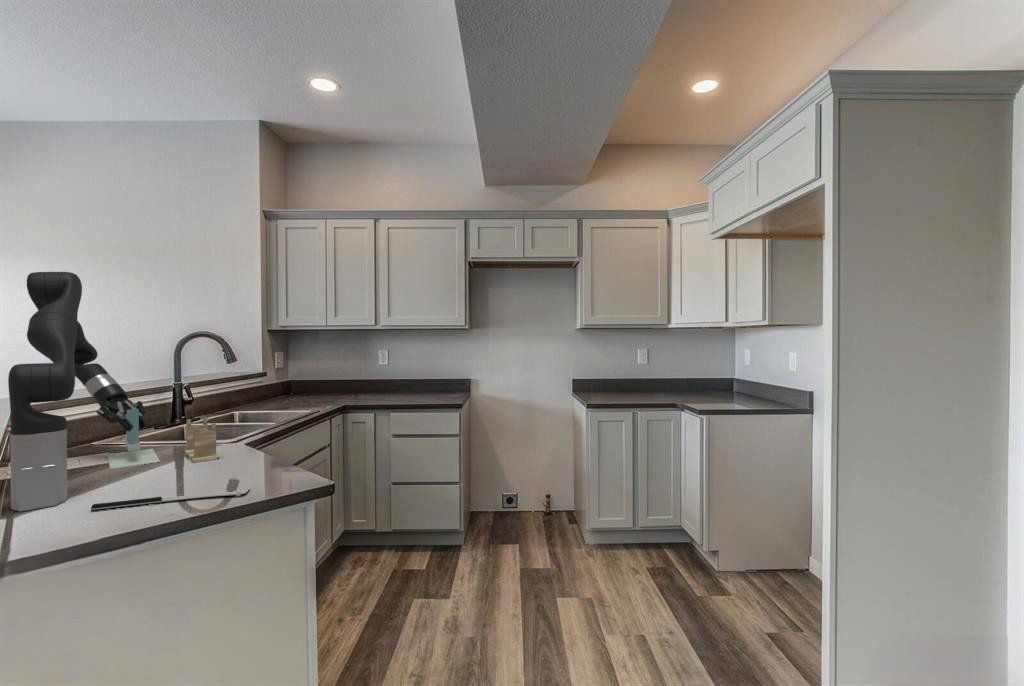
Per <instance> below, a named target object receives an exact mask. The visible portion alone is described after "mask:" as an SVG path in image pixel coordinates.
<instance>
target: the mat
mask: <svg viewBox="0 0 1024 686" xmlns="http://www.w3.org/2000/svg"><path fill="white" fill-rule="evenodd" d="M107 460H108V465H109V466H108V467H109V470H111V471H112V470H118V469H124V468H130V467H131V468H132V467H138V466H145V465H144V464H146V465H151V464H150V463H153V464H158V463H157V462H159V463H161V459H159V457H158V455H157V453H156V452H155V450H154V449H153V448H149V449H148V448H147V449H141V450H133V451H125V452H116V453H109V454H107Z"/></svg>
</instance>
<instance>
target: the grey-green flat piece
mask: <svg viewBox="0 0 1024 686" xmlns="http://www.w3.org/2000/svg"><path fill="white" fill-rule="evenodd" d="M125 419H127V420H128V421H129V422H130V423H131V424H132V425H133V429H132V430H131V431H126V430H125V431H126V434H125V436H124V442H125V445H126V449H127V452H131V451H138V450H142V448H141V446H142V445H141V444H142V443H141V442H140V439H139V438H140V427H139V409H138V408H135V409H126V415H125Z"/></svg>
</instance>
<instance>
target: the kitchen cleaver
mask: <svg viewBox="0 0 1024 686" xmlns="http://www.w3.org/2000/svg"><path fill="white" fill-rule="evenodd" d="M248 492H249V491H248V490H243V491H233V492H222V493H212V494H199V495H191V496H179V497H178V496H177V497H167V498H165V497H162V496H155V497H146V498H138V499H129V500H119V501H112V502H111V501H110V502H100V503H99V502H98V503H94V504H92V505H91V507H90V511H91V512H92V511H95V512H100V511H99V510H103V511H108V510H107V509H112V510H117V509H116V508H120V509H126V508H125V507H129V508H135V507H134V506H138V507H142V506H141V505H146V506H150V505H149V504H155V505H158V504H157V503H163V502H173V501H181V500H190V499H191V500H192V499H200V498H213V497H224V496H226V497H227V496H239V495H245V494H247V493H248Z"/></svg>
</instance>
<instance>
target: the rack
mask: <svg viewBox="0 0 1024 686" xmlns="http://www.w3.org/2000/svg"><path fill="white" fill-rule="evenodd" d="M185 422H186V426H185V427H186V428H185V429H186V433H185V434H186V435H185V436H186V448H184V449H183V453H184V455H187V456H188V457H187V456H186V457H187V458H188V459H189V460H190V461H191V463H192V464H195V463H194V462H197V463H201V462H200V461H203V462H206V461H205V460H210V461H212V460H211V459H217V458H219V459H220V456H219V454H218V453H217V423H216V422H212V423H210V426H211V427H210V430H208V418H207V417H203V418H202V424H193V425H192V419H190V418H189V419H186V420H185ZM217 460H218V459H217Z"/></svg>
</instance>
